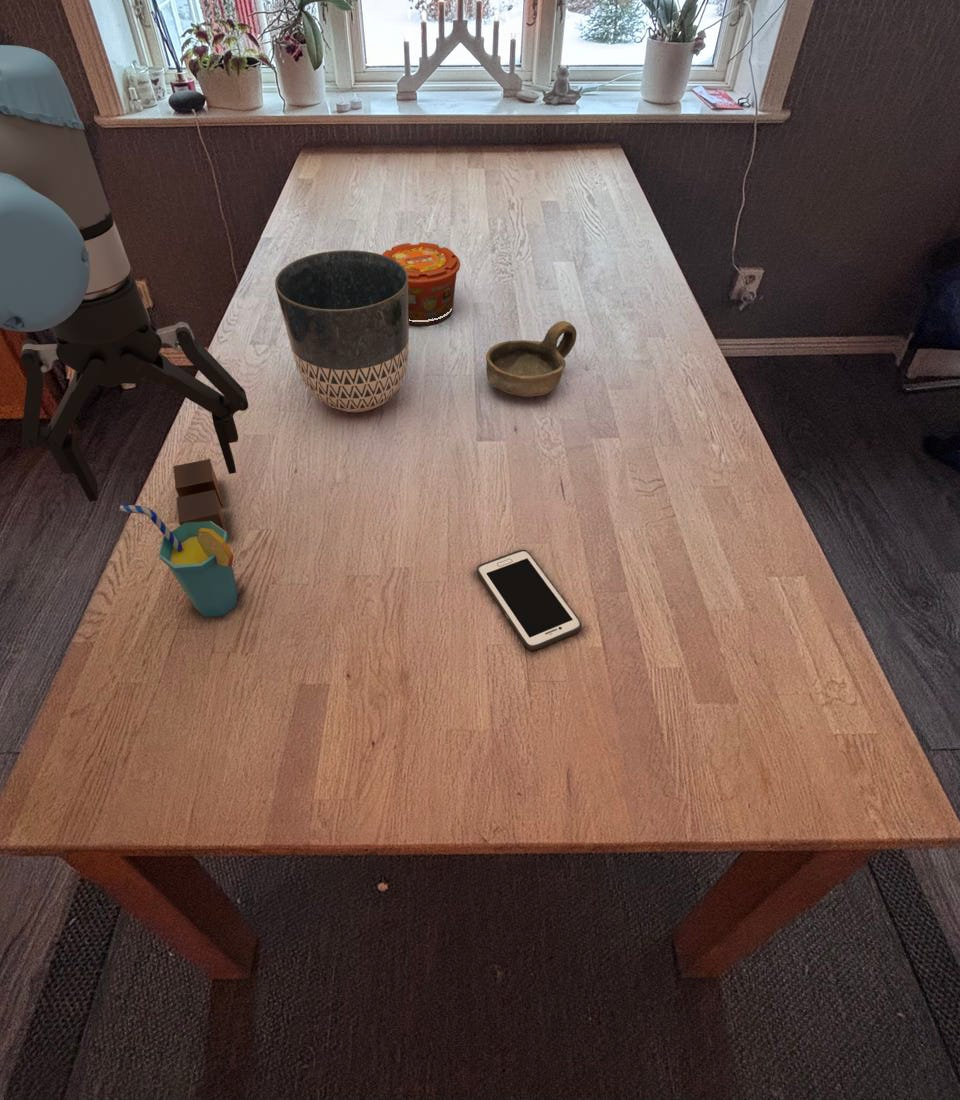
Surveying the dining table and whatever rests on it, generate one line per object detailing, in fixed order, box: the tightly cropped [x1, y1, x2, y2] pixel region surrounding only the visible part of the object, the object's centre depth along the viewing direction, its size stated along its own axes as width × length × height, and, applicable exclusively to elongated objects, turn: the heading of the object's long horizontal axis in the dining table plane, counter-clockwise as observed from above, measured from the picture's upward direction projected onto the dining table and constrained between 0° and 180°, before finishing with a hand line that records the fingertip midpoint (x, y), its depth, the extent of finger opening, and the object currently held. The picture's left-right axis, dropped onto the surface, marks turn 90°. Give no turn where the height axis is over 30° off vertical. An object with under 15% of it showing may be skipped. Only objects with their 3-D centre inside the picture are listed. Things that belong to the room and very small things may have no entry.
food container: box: [381, 242, 461, 327], centre depth 134 cm, size 16×16×11 cm
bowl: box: [485, 320, 577, 397], centre depth 117 cm, size 14×18×10 cm
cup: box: [119, 504, 239, 618], centre depth 80 cm, size 14×8×15 cm, turn 75°
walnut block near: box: [175, 490, 228, 533], centre depth 92 cm, size 5×5×5 cm
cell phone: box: [476, 549, 582, 651], centre depth 86 cm, size 8×15×1 cm, turn 27°
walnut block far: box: [172, 458, 223, 508], centre depth 96 cm, size 5×5×5 cm
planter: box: [274, 249, 410, 413], centre depth 108 cm, size 20×20×21 cm
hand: (164, 479), depth 71 cm, fingers open, 13 cm apart
